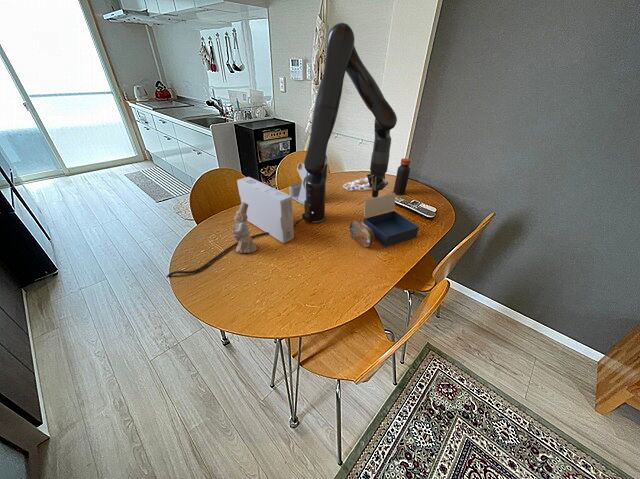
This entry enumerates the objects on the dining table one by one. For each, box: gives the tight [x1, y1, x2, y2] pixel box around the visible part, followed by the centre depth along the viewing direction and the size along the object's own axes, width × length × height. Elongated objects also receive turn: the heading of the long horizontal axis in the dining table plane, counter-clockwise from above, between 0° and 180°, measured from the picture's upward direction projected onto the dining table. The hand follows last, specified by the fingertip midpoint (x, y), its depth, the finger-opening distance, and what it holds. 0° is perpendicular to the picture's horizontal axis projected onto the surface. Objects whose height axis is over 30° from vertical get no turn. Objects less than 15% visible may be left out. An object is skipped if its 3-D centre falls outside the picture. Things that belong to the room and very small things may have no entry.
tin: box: [349, 219, 376, 248], centre depth 110 cm, size 15×3×8 cm, turn 27°
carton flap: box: [363, 192, 396, 218], centre depth 119 cm, size 18×8×1 cm
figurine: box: [231, 202, 258, 254], centre depth 101 cm, size 9×8×20 cm
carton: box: [363, 210, 420, 248], centre depth 117 cm, size 18×17×5 cm
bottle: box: [393, 157, 411, 196], centre depth 149 cm, size 7×7×20 cm
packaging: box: [236, 176, 295, 244], centre depth 114 cm, size 30×6×20 cm, turn 47°
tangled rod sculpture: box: [342, 177, 373, 192], centre depth 159 cm, size 19×14×4 cm
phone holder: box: [288, 162, 307, 206], centre depth 141 cm, size 17×10×18 cm, turn 42°
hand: (374, 196), depth 121 cm, fingers closed
